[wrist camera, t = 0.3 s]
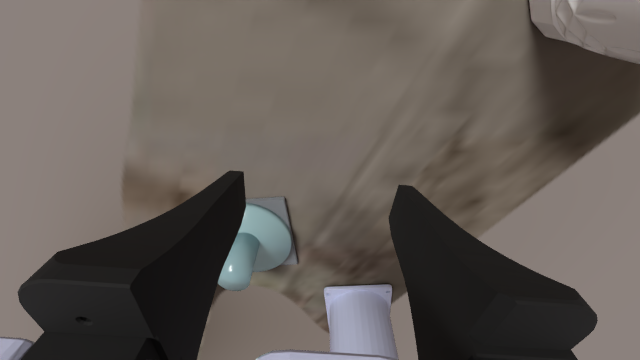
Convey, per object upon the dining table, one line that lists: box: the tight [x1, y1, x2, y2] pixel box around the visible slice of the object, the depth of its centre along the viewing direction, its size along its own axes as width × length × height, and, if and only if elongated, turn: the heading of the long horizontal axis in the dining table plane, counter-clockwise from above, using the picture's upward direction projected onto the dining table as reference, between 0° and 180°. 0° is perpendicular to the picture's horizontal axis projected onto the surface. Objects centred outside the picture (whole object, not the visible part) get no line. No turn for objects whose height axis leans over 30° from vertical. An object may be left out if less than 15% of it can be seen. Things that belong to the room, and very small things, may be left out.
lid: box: [218, 203, 292, 291], centre depth 25 cm, size 9×9×5 cm
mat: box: [246, 197, 298, 265], centre depth 28 cm, size 9×9×1 cm
